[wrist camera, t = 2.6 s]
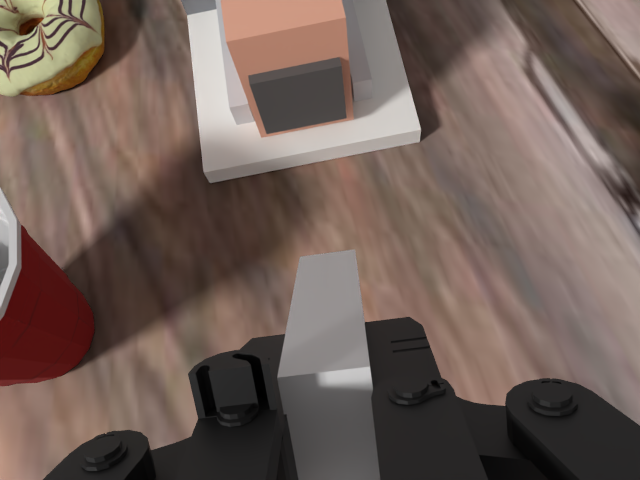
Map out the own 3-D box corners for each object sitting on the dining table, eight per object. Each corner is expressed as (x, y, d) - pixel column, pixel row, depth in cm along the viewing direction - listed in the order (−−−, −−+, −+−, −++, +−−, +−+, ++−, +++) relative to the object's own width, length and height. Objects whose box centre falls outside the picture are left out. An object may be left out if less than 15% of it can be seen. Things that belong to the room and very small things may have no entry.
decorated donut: (15, 132, 41) (-19, 101, 38) (-41, 41, 45) (-76, 5, 41) (138, 54, 43) (116, 17, 39) (74, -28, 46) (49, -68, 43)
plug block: (339, 56, 38) (328, -57, 30) (355, 127, 36) (348, 27, 28) (251, 74, 38) (216, -34, 30) (262, 145, 36) (227, 51, 28)
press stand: (371, -39, 43) (368, -175, 34) (419, 142, 37) (432, 36, 28) (190, -1, 44) (139, -126, 34) (209, 183, 38) (154, 92, 29)
